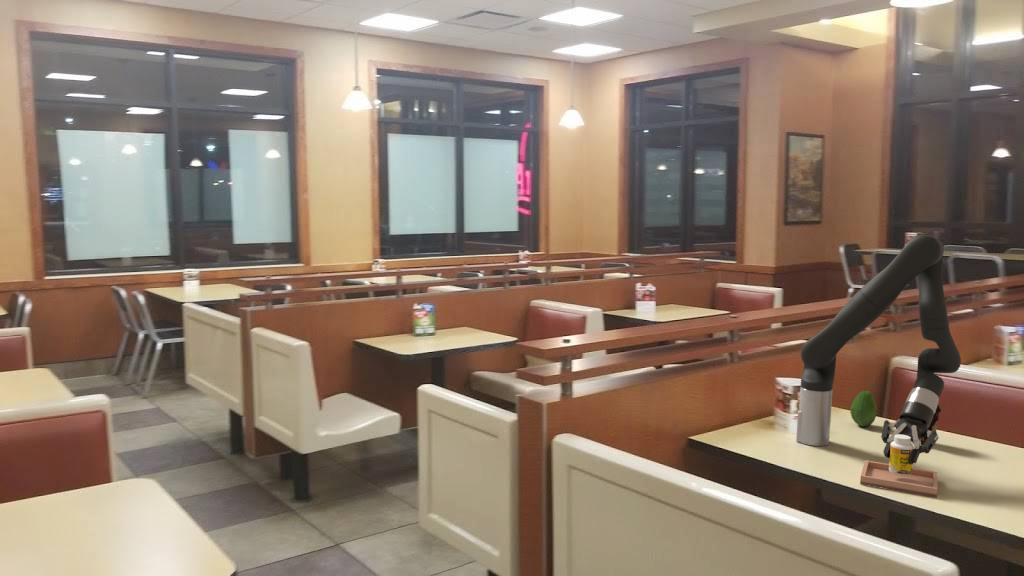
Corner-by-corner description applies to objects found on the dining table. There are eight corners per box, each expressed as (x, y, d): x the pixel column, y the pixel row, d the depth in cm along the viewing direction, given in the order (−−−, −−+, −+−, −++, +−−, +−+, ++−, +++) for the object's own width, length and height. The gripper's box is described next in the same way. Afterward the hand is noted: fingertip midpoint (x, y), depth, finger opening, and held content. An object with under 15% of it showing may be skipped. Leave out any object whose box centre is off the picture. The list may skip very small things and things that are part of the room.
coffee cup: (931, 439, 243) (934, 399, 241) (943, 448, 235) (946, 406, 233) (902, 438, 244) (905, 398, 242) (913, 447, 236) (916, 405, 234)
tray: (860, 484, 205) (860, 476, 205) (864, 467, 217) (865, 460, 217) (936, 497, 197) (937, 489, 196) (936, 479, 209) (937, 471, 208)
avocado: (878, 425, 257) (880, 390, 256) (872, 430, 251) (874, 395, 250) (852, 420, 262) (855, 386, 261) (846, 426, 256) (848, 391, 254)
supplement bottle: (898, 477, 203) (901, 440, 202) (884, 470, 209) (886, 434, 207) (916, 476, 205) (919, 439, 203) (901, 468, 210) (904, 432, 209)
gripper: (889, 395, 214) (867, 445, 208) (944, 406, 204) (923, 459, 197) (896, 409, 219) (875, 459, 212) (950, 421, 208) (930, 474, 202)
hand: (898, 459), depth 205 cm, fingers closed on supplement bottle, 5 cm apart
